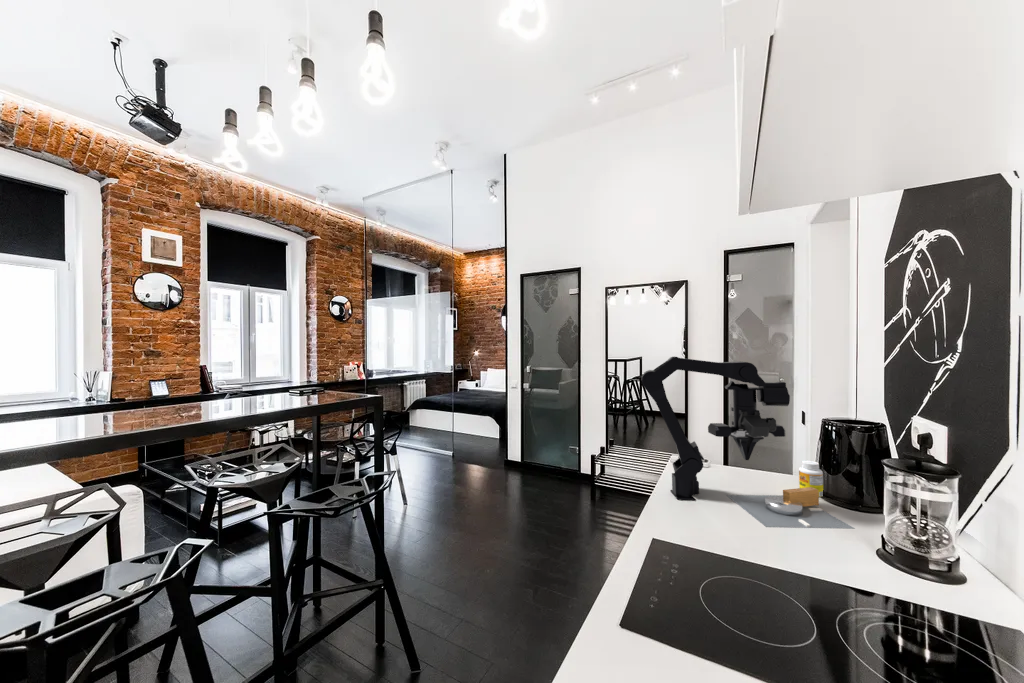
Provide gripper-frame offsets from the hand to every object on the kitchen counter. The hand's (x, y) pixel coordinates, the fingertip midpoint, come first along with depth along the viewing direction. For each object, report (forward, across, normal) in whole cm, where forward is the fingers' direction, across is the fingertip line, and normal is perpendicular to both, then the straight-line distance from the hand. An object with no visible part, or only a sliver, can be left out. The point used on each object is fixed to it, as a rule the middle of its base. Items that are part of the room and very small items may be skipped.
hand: (746, 459), depth 109 cm
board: (+12, +5, -8) cm, 15 cm away
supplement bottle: (+12, +20, +4) cm, 24 cm away
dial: (+11, +8, -7) cm, 15 cm away
